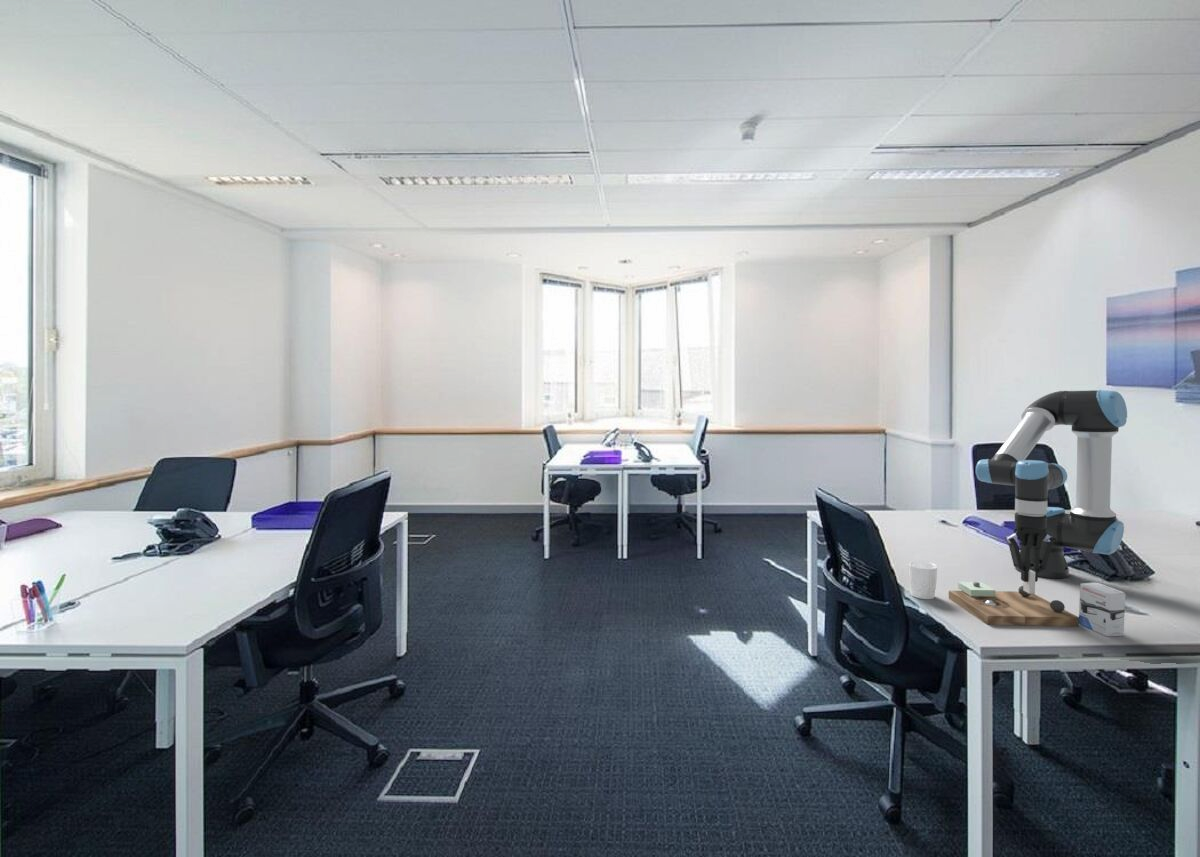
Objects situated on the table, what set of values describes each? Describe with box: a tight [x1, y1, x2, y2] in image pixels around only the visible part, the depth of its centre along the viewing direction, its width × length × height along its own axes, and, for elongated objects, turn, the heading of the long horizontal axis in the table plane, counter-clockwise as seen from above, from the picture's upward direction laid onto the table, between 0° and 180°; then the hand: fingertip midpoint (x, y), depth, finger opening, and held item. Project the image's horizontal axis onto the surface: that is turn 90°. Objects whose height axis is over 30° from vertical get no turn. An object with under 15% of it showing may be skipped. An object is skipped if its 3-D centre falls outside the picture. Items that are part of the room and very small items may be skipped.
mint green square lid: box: [957, 581, 996, 597], centre depth 172 cm, size 7×7×3 cm
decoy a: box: [1017, 585, 1031, 597], centre depth 169 cm, size 3×3×3 cm
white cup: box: [908, 561, 938, 600], centre depth 178 cm, size 8×8×10 cm
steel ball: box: [984, 600, 997, 606], centre depth 165 cm, size 3×3×3 cm
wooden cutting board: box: [948, 590, 1080, 627], centre depth 164 cm, size 24×20×2 cm
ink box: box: [1078, 582, 1126, 637], centre depth 151 cm, size 8×5×12 cm, turn 5°
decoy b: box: [1050, 599, 1066, 612], centre depth 157 cm, size 3×3×3 cm
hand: (1029, 592), depth 164 cm, fingers closed
